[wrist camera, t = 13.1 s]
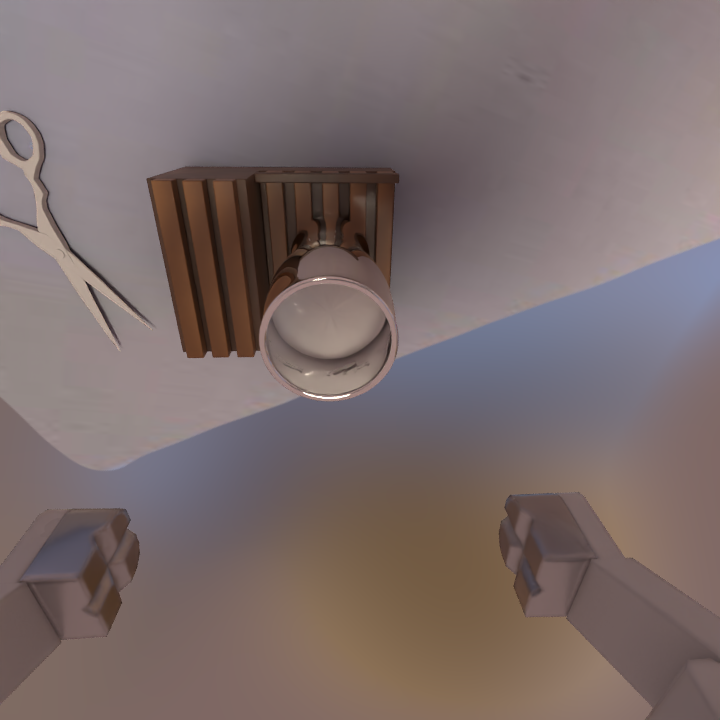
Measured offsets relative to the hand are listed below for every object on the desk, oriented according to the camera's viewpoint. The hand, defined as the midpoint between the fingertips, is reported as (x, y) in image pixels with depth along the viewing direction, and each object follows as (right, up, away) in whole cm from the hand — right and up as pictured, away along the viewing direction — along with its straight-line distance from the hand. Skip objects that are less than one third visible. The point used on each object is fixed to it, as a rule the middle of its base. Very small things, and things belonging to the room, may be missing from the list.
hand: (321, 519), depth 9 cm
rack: (-5, +13, +27) cm, 31 cm away
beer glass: (-1, +12, +24) cm, 27 cm away
